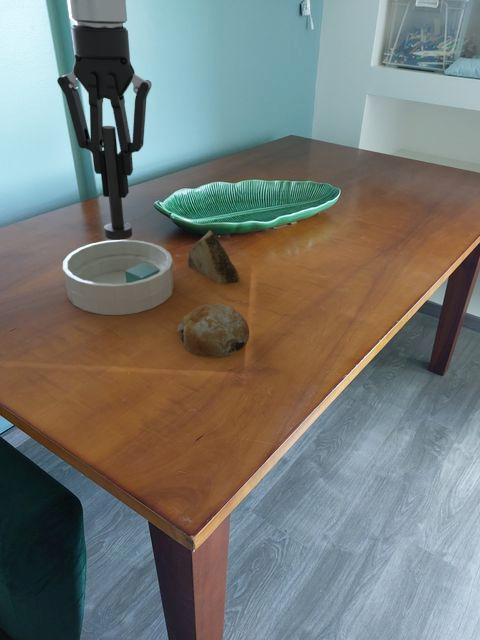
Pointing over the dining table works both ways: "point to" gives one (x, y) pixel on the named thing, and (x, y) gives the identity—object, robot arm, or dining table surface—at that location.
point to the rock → (212, 260)
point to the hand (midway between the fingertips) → (116, 194)
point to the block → (140, 272)
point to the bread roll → (214, 330)
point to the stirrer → (114, 188)
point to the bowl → (117, 277)
